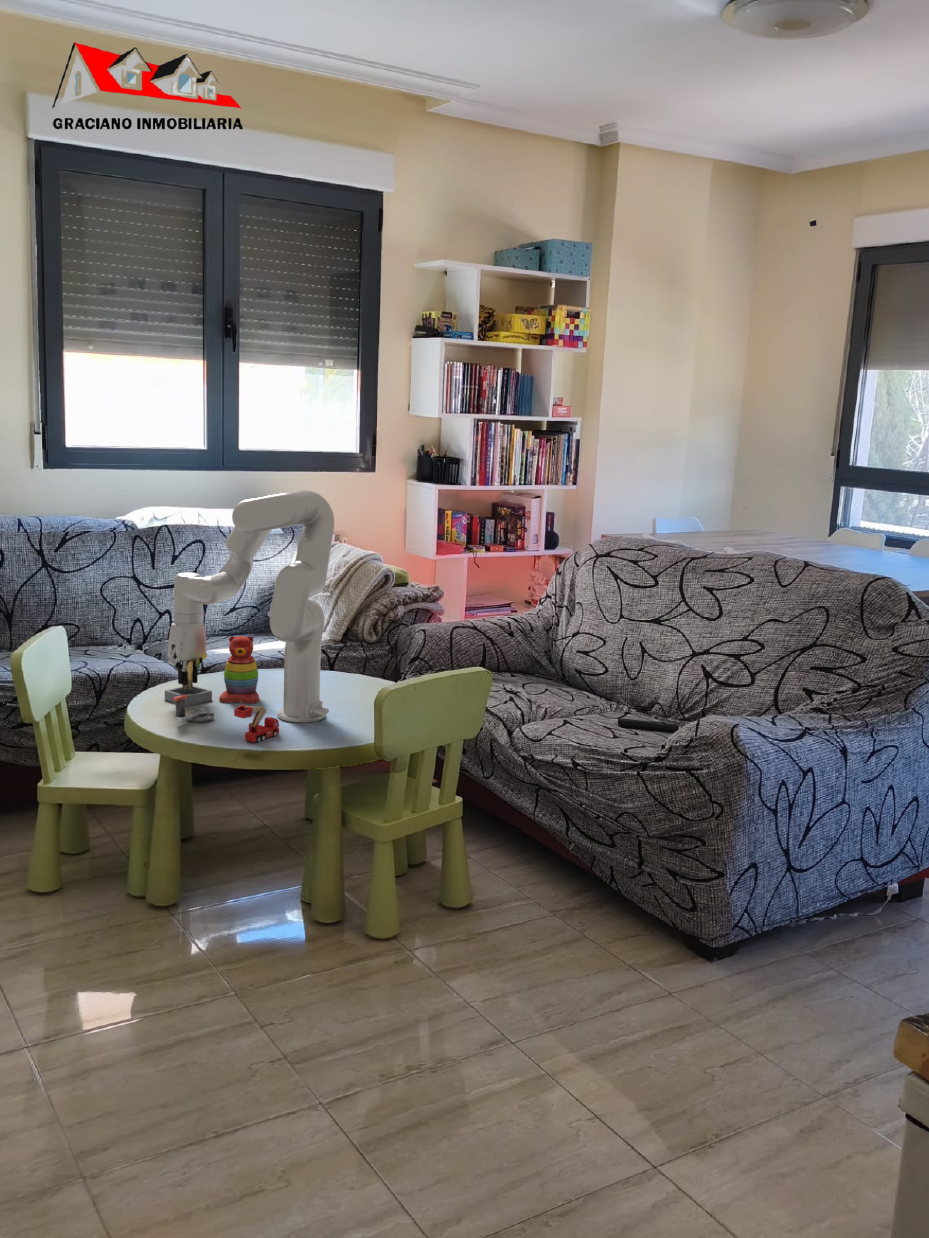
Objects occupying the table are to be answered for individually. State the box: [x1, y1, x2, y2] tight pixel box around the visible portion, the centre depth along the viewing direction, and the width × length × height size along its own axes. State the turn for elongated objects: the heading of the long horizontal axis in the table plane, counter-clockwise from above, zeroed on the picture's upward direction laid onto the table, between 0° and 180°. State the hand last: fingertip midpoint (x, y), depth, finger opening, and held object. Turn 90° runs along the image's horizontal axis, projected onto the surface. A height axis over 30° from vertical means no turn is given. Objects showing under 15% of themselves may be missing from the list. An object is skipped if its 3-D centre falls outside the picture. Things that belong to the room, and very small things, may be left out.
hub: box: [186, 710, 215, 724], centre depth 284 cm, size 7×7×1 cm
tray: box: [164, 685, 213, 707], centre depth 301 cm, size 9×9×3 cm
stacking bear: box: [218, 635, 260, 705], centre depth 304 cm, size 11×10×18 cm
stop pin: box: [181, 659, 194, 690], centre depth 300 cm, size 3×3×8 cm
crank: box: [173, 695, 208, 722], centre depth 281 cm, size 11×4×6 cm, turn 149°
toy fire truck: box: [233, 704, 280, 743], centre depth 269 cm, size 3×14×10 cm, turn 149°
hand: (187, 682), depth 301 cm, fingers closed on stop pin, 2 cm apart
